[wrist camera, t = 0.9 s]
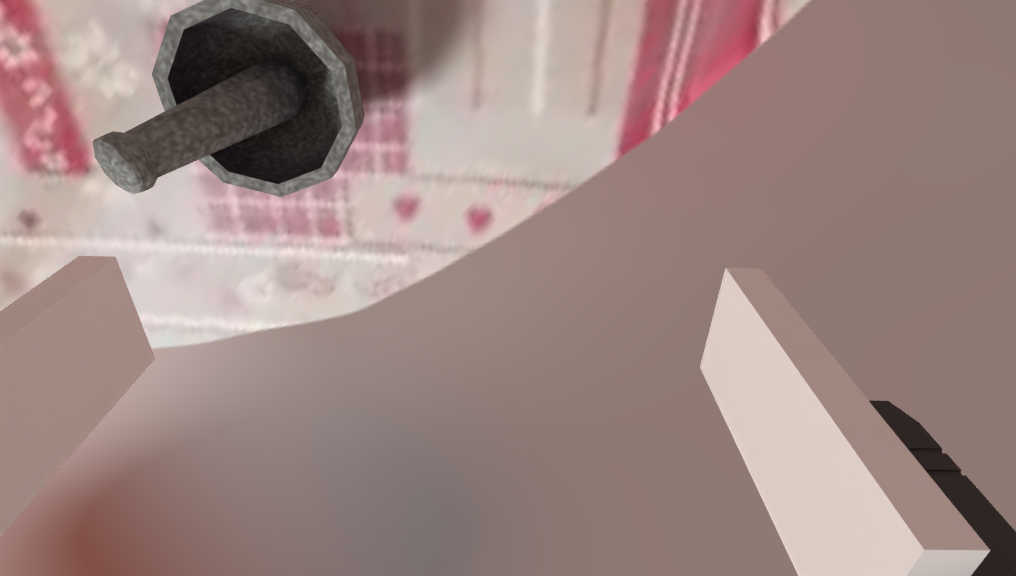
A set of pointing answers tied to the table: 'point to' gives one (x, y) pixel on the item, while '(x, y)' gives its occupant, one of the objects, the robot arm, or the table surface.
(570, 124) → the table surface
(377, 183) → the table surface
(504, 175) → the table surface
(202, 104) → the mortar and pestle
